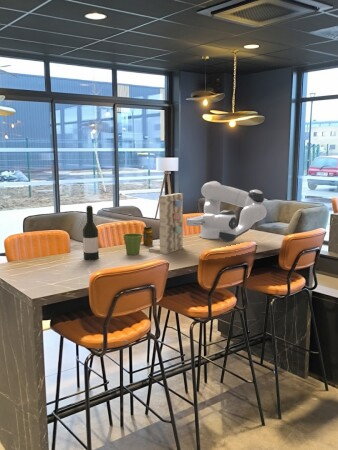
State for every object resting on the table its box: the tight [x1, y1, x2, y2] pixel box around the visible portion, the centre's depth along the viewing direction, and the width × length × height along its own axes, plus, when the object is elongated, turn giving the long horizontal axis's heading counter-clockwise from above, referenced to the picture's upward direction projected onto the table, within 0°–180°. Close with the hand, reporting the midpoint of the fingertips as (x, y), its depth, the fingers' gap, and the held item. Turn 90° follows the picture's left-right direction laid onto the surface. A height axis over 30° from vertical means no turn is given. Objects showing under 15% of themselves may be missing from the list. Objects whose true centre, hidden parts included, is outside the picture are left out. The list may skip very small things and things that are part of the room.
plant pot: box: [122, 232, 143, 256], centre depth 257 cm, size 12×12×11 cm
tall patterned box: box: [148, 192, 184, 255], centre depth 265 cm, size 20×12×34 cm, turn 148°
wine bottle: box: [82, 205, 100, 261], centre depth 244 cm, size 8×8×30 cm
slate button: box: [173, 200, 182, 207], centre depth 260 cm, size 4×6×4 cm
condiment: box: [140, 225, 155, 248], centre depth 281 cm, size 7×8×12 cm
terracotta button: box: [173, 213, 180, 220], centre depth 262 cm, size 4×6×4 cm
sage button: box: [173, 226, 182, 234], centre depth 263 cm, size 4×6×4 cm
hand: (187, 219), depth 257 cm, fingers closed
